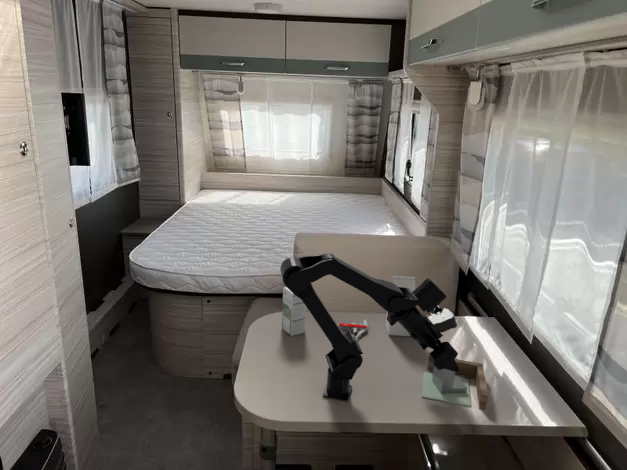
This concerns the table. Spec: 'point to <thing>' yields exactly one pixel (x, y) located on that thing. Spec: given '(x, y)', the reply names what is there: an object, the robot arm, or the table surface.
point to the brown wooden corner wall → (473, 372)
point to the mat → (433, 393)
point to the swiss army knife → (354, 327)
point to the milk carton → (397, 327)
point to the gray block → (448, 381)
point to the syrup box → (293, 313)
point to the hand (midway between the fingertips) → (450, 360)
